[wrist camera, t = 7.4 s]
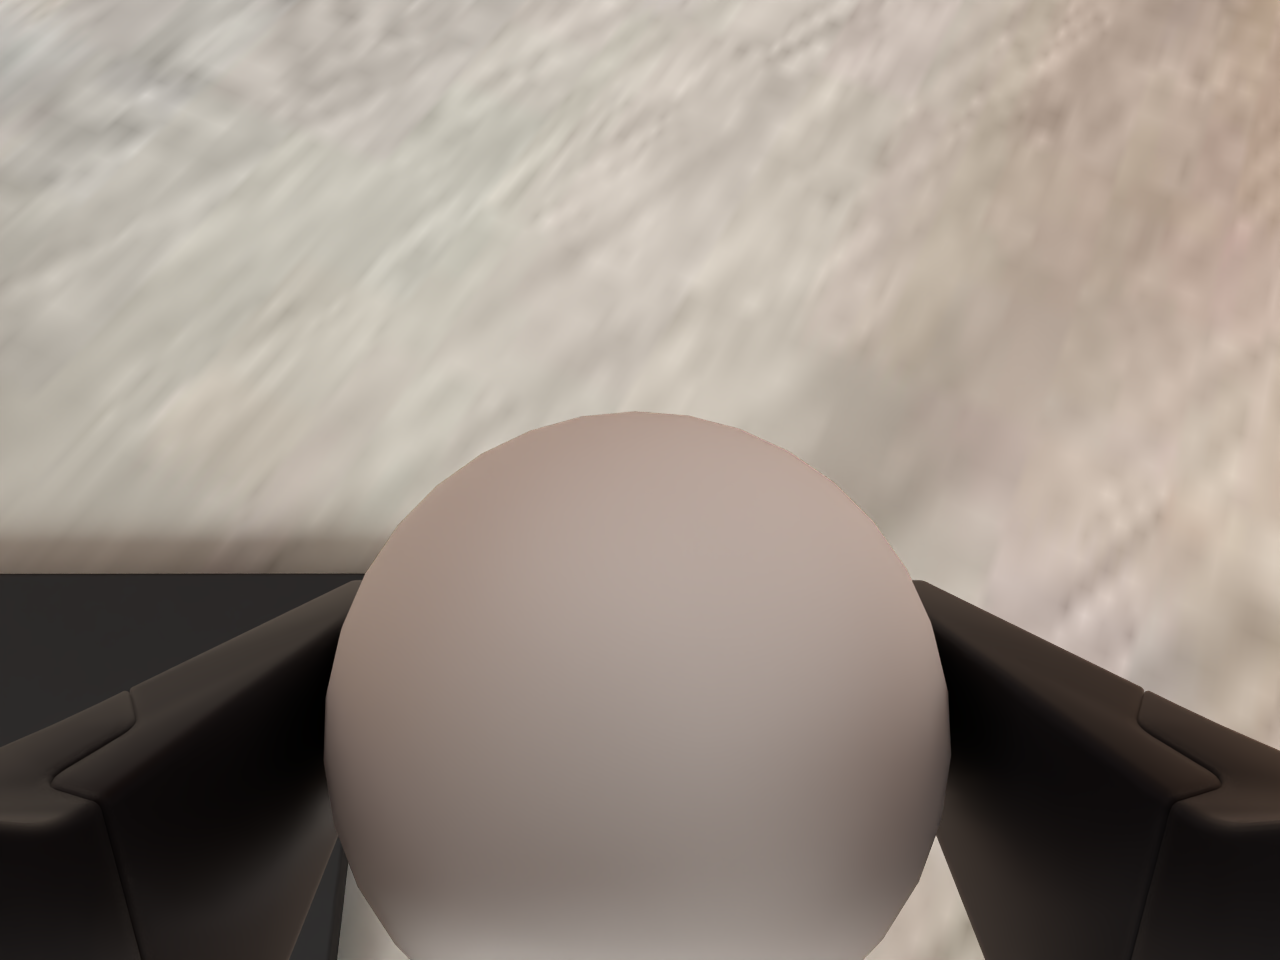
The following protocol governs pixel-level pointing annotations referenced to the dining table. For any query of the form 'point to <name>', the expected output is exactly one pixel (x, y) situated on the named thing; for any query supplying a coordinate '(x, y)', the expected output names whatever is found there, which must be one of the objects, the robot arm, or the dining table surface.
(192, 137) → the dining table surface
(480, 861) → the lightbulb
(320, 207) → the dining table surface
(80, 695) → the mat
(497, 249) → the dining table surface
